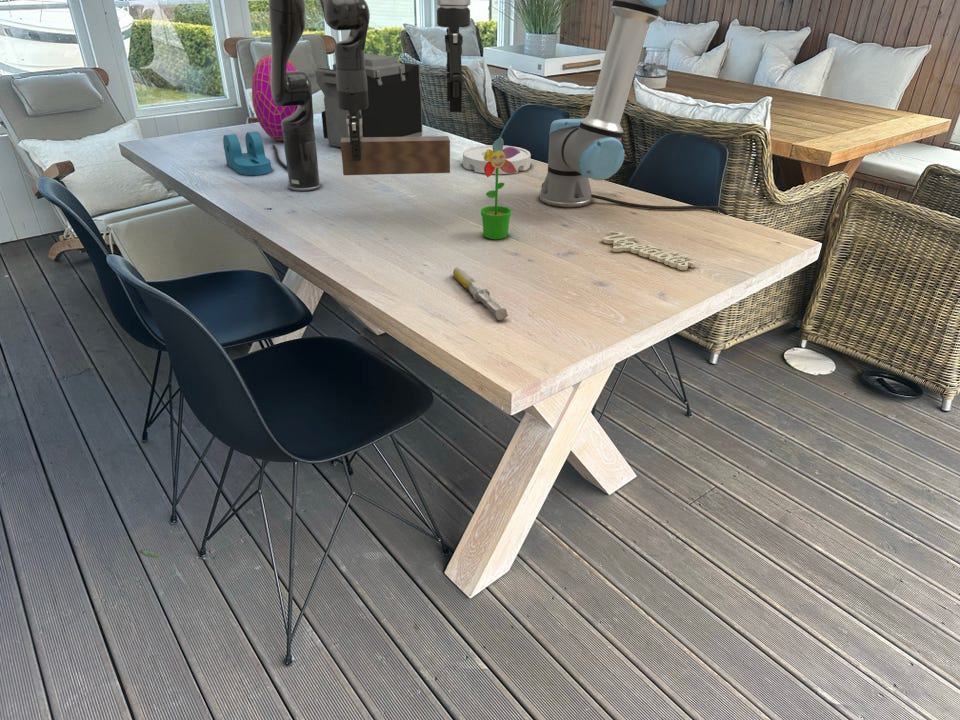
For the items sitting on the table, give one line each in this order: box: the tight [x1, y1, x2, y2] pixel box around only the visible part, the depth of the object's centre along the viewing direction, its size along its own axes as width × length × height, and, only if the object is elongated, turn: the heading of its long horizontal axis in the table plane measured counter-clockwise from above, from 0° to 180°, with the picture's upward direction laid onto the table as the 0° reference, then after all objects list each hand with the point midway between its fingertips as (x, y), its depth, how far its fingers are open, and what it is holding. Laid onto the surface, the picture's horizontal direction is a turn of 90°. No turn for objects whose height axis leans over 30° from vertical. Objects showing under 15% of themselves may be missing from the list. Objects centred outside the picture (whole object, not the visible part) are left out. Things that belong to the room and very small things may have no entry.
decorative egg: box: [251, 54, 298, 142], centre depth 257 cm, size 19×19×30 cm
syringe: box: [452, 266, 509, 321], centre depth 145 cm, size 25×4×3 cm, turn 21°
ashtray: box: [462, 144, 532, 175], centre depth 235 cm, size 23×23×4 cm
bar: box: [340, 135, 451, 176], centre depth 179 cm, size 28×5×8 cm, turn 98°
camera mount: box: [222, 131, 272, 176], centre depth 226 cm, size 18×10×10 cm, turn 35°
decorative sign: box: [603, 230, 695, 271], centre depth 167 cm, size 26×1×10 cm
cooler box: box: [315, 52, 423, 148], centre depth 257 cm, size 37×22×30 cm, turn 144°
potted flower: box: [480, 137, 520, 240], centre depth 170 cm, size 9×8×25 cm
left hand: (357, 157), depth 177 cm, fingers closed on bar, 4 cm apart
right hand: (454, 106), depth 165 cm, fingers open, 13 cm apart
